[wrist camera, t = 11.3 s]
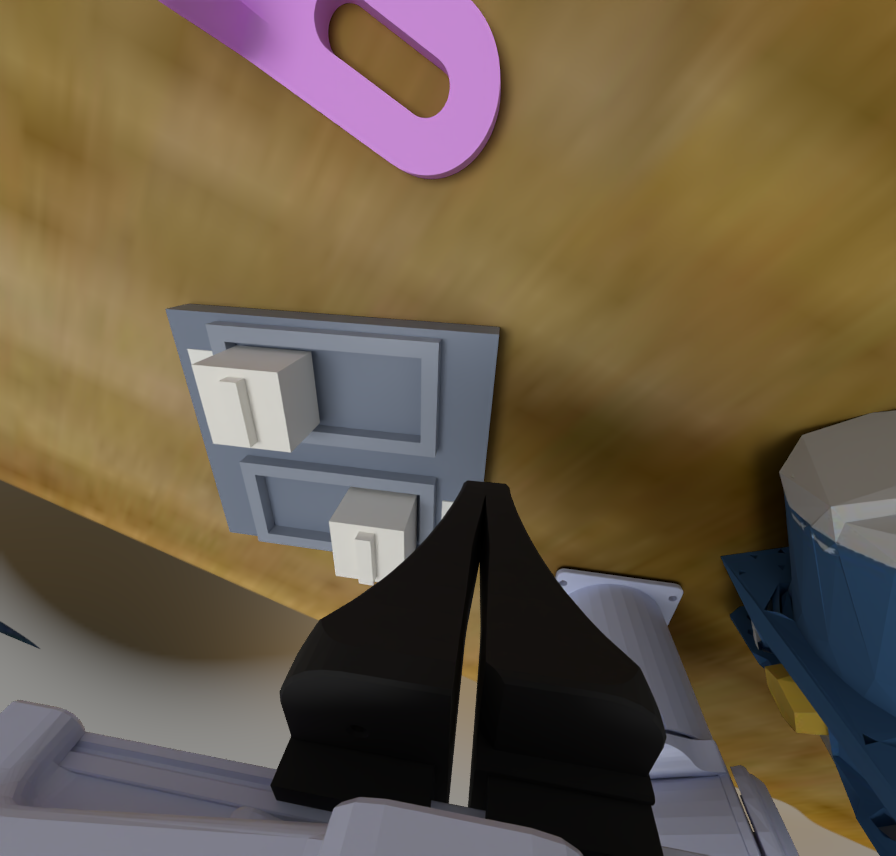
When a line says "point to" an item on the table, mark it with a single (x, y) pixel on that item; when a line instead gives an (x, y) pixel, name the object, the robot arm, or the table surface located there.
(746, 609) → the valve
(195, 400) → the switch bank
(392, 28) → the bracket
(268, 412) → the near tab
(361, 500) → the far tab
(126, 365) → the table surface
